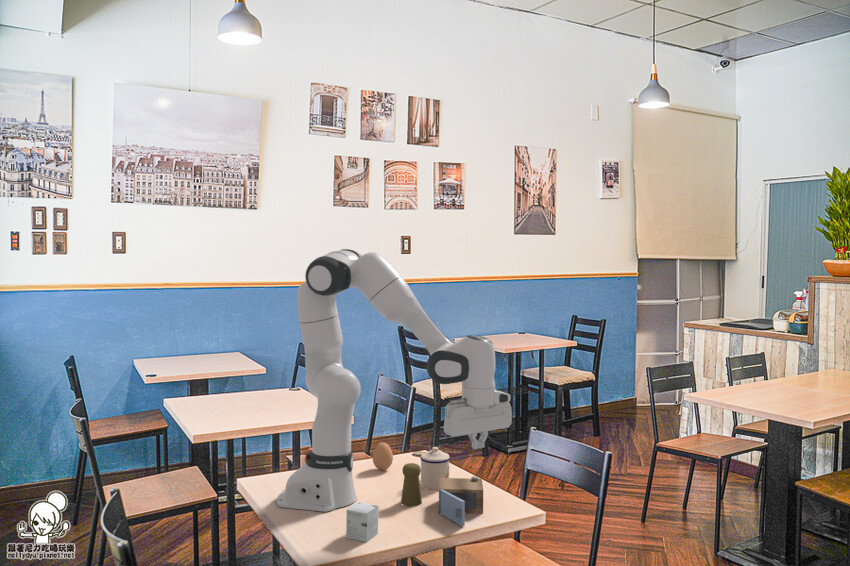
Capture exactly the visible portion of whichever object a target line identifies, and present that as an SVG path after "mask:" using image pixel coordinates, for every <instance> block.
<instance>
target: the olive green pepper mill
mask: <svg viewBox="0 0 850 566" xmlns="http://www.w3.org/2000/svg"><path fill="white" fill-rule="evenodd" d="M402 474H403V477H404V478H403V485H402V491H401V492H402V493H401V499H400V503H401V505H402V504H403V506H404V505H405V507H418V505H419V506H420V504H421V505H422V503H423V500H422V492H421V491H422V490H421V481H420V476H421V465H419V464H418V463H414V462H409V463H406V464H404V465H403V467H402Z"/></svg>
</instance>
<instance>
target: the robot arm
mask: <svg viewBox="0 0 850 566" xmlns="http://www.w3.org/2000/svg"><path fill="white" fill-rule="evenodd" d="M304 278H305V281H303V282H302V283H301V284H299V286H298V287H297V290H296V306H297V307H296V309H297V315H298V321H299V326H300V330H301V331H300V332H301V337H302V341H303V347H304V348H303V349H304V362H305V364H304V365H305V367H304V368H305V375H304V381H305V385H306V387H307V390H308V391H309V393H310V394H311V395H312V396H313V397H315V398H317V407H316V408H317V409H316V413H315V418H314V420H313V422H312V425H311V426H312V427H311V429H312V430H311V432H312V433H311V439H312V440H311V444H312V445H311V446H312V447H308V449H307V450H306V452H305V456H304V462H305V464H303V465H302V466H301V467H299V468H298V469H297V470H295V471H294V472H292V474H290V476H289V477H288V479H287V481H286V484H285V488H284V490H282V491H281V492H280V493H279V495H278V496H277V499H276V504H277V506H278V507H279V508H283V509H284V508H286V509H295V510H297V509H298V510H303V511H315V512H316V511H317V512H325V513H328V512H331V511H333V510H336V509H339V508H344V507H347V506H349V505H351V504H353V503H354V502H356V501H357V497H358V496H357V494H356V489H355V485H354V478H353V469H354V454H353V449H352V423H353V417H354V416H353V415H354V411H355V406H356V402H357V401H358V400H359V398H360V396H361V393H362V392H361V391H362V389H361V388H362V387H361V383H360V380H359V379H358V378H357V376H356V375H355V374H354V372H352V371H351V370H350V369H347V368H345V367H344V366H343V365H344V364H343V361H342V350H343V349H342V348H343V347H342V346H343V343H344V338H343V332H342V331H343V330H342V328H341V322H340V315H339V312H338V311H339V310H338V306H337V295H338V294H339V293H342V292H344V291H346V290H348V289H350V288H354V289H358V290H359V291H360V292H361V293H362V295H363V296H364V297H365V298H366V299H367V301H368V303H369V304H370V305H371V306H372V307H373V308H374V309H375V310H376V311H377V312H378V313H379V314H380V315H381V316H382V317H383V318H385V319H386V320H387V321H390V322H394V323H398V324H400V325H402V326H404V327H405V328H407V330H408V329H409V331H411V332H412V333H413V335H414V336H415V337H416V338H417V339H418V340H419V342H420V343H421V344H422V346H424V348H426V351H428V354H429V355H430V356H429V357H428V358H427V361H426V372H427V374H428V377H429V378H430V379H431V380H432V381H433V382H435V383H437V384H440V385H451V384H456V383H457V384H458V383H461V398H459V399H451V400H450V401H449V402H447V404H446V405H445V408H444V410H445V415H444V421H443V422H444V423H443V431H444V433H445V435H447V436H449V437H452V438H455V437H460V436H468V438H469V441H470V442H471V448H472V449H473V450H478V449H484V448H485V443H486V440H487V438H488V436H489V431H496V430H503V429H508V428H510V426H511V425H512V421H513V420H512V419H513V415H512V406H511V403H510V402H511V399H512V398H511V397H512V396H511V394H510V393H508V392H507V393H506V392H504V391H501V390H498V389H497V388H496V382H495V373H496V351H495V349H496V348H495V345H494V343H493V341H491V340H490V339H489V338H488V337H485V336H481V335H475V334H468V335H466V336H464V337H463V338H462V339H460V340H458V341H454V340H451V339H450V338H448V336H446V335H445V334H444V333H443V332H442V331H441V330H440V329H439V327H438V326H437V325H436V324H435V322H434V321H433V320H432V318H430V317H429V315H428V314H427V313H426V311H425V310H424V309H423V307H422V306H421V304H420V302H419V300H418V299H417V298H416V296H415V294H414V292H413V290H412V289H411V287H410V286H409V285H408V283H407V282H406V280H405V279H404V278H403V277H402V275H401V274H400V273H399V272H398V271H397V269H395V267H394V266H393V265H392V264H391V263H390V262H389V261H387V259H385V258H384V257H383V256H382V255H381V254H380V253H377V252H372V251H371V252H367V253H364V254H362V255H361V254H360V253H358V252H357V251H356V250H353V249H347V248H343V249H340V250H334V251H331V252H328V253H326V254H325V255H323V256H318V257H316V258H315V259H314V260H312V261H311V263H309V264H308V266H307V268H306V271H305V277H304ZM478 434H479V438H478V440H477V438H476V437H478Z"/></svg>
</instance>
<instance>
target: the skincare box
mask: <svg viewBox="0 0 850 566" xmlns="http://www.w3.org/2000/svg"><path fill="white" fill-rule="evenodd" d="M345 529H346V531H345V534H346V536H345V538H346V539H350V540H355V541H359V542H364V543H368V542H369V541H370V540H371V539H373V538H374V537H375V536H377V535H378V534H379V505H377V504H372V503H367V502H361V501H357V502H356V503H354V504H353V505H351V506H350V507H348V508H347V509H346V527H345Z"/></svg>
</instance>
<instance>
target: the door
mask: <svg viewBox="0 0 850 566" xmlns="http://www.w3.org/2000/svg"><path fill="white" fill-rule="evenodd" d="M438 513H439V514H440V515H442V516H444V517H446V518H447V519H449V520H451V521H453V522H455V523H456V524H457V525H460V526H461V527H464V526H465V521H466V520H465V519H466V513H465V501H463V500H462V499H460V498H458V497H456V496H454V495H452V494H450V493H448V492H446V491H445V490H443V489H439V490H438Z"/></svg>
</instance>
